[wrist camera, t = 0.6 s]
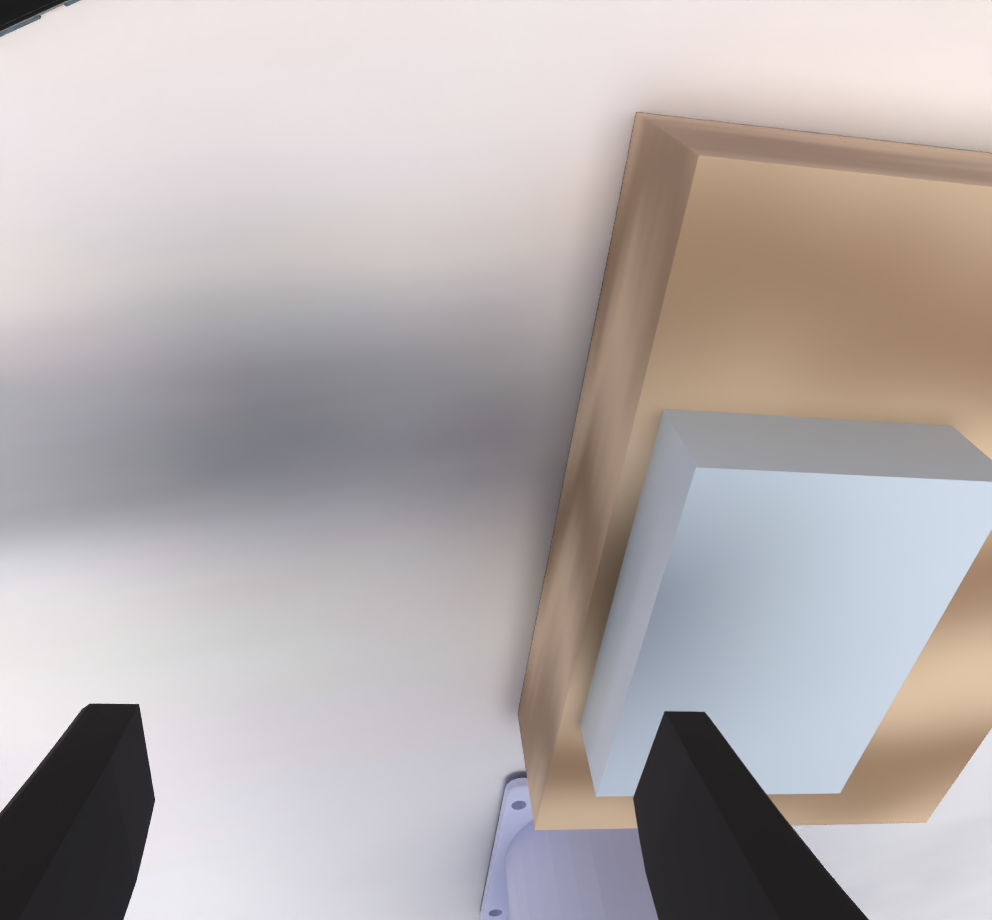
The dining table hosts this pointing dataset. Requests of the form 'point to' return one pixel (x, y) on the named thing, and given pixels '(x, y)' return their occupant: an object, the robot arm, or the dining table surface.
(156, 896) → the dining table surface
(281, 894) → the dining table surface
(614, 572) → the tan flat wooden block
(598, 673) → the tile
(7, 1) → the smartphone
